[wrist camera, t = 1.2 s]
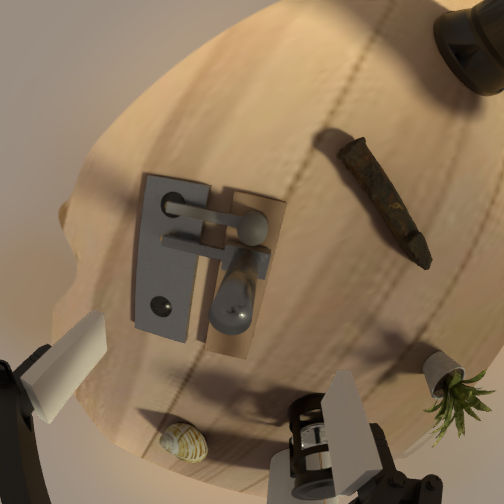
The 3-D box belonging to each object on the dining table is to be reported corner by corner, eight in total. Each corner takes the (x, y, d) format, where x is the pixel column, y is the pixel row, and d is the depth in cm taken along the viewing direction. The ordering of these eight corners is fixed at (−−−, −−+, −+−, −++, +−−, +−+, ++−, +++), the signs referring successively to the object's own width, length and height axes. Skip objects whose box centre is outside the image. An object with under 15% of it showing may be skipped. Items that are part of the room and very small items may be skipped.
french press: (313, 383, 39) (330, 512, 17) (353, 400, 40) (382, 511, 18) (271, 420, 42) (267, 532, 20) (311, 434, 43) (319, 535, 21)
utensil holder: (261, 471, 48) (257, 530, 32) (274, 441, 44) (272, 515, 27) (320, 473, 48) (325, 529, 31) (343, 443, 44) (355, 510, 27)
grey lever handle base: (285, 202, 32) (289, 208, 26) (247, 353, 38) (243, 380, 32) (175, 179, 32) (156, 180, 26) (158, 330, 38) (143, 353, 32)
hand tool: (330, 154, 30) (340, 151, 26) (356, 137, 29) (368, 132, 25) (402, 274, 34) (417, 288, 29) (423, 258, 33) (440, 269, 28)
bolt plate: (211, 185, 32) (209, 186, 30) (187, 338, 38) (184, 343, 37) (151, 175, 32) (147, 175, 31) (138, 323, 38) (134, 328, 37)
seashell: (199, 455, 47) (171, 477, 38) (172, 422, 50) (142, 440, 41) (228, 444, 44) (199, 470, 35) (198, 408, 47) (165, 429, 38)
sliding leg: (271, 249, 32) (270, 306, 18) (265, 272, 33) (260, 342, 19) (163, 224, 32) (97, 261, 18) (160, 248, 33) (97, 296, 19)
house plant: (384, 363, 37) (420, 438, 22) (451, 311, 34) (507, 368, 19) (409, 400, 40) (437, 462, 24) (465, 358, 37) (506, 410, 21)
